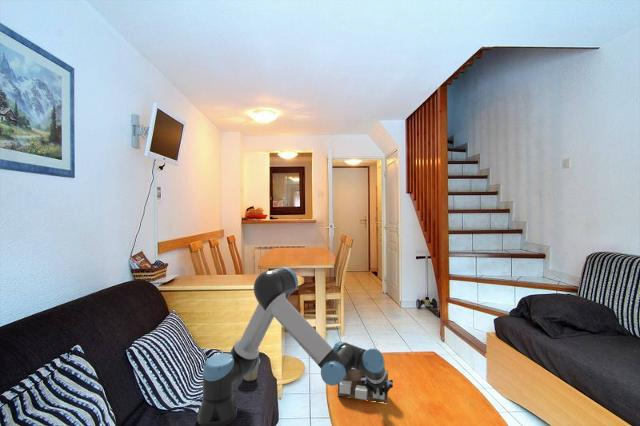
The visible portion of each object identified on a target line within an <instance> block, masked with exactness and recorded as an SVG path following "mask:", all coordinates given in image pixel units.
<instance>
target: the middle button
mask: <svg viewBox="0 0 640 426" xmlns="http://www.w3.org/2000/svg"><path fill="white" fill-rule="evenodd" d="M367 396H368V389H367V388H366V387H365V386H360V385H356V389H355V398H357V399H364V400H367ZM357 399H356V400H357Z"/></svg>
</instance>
